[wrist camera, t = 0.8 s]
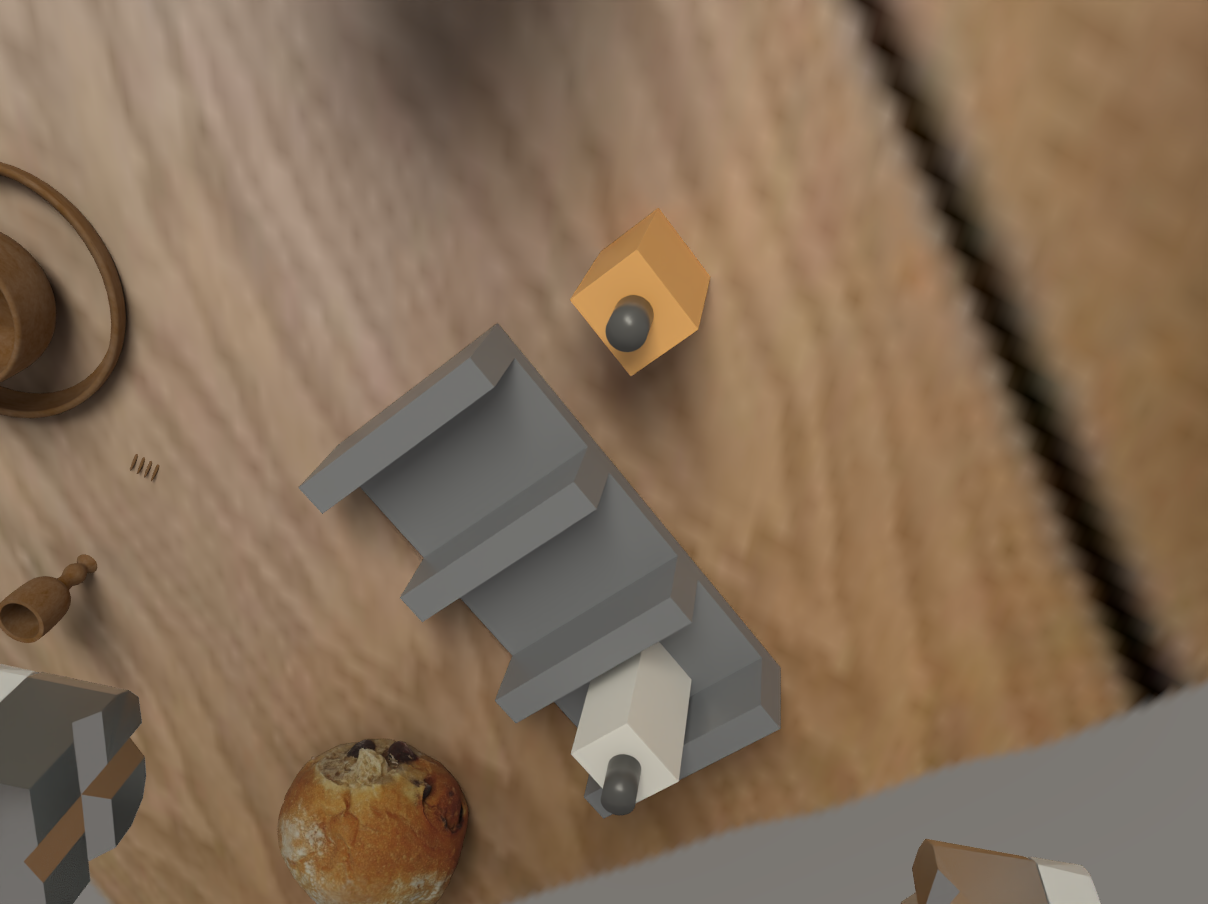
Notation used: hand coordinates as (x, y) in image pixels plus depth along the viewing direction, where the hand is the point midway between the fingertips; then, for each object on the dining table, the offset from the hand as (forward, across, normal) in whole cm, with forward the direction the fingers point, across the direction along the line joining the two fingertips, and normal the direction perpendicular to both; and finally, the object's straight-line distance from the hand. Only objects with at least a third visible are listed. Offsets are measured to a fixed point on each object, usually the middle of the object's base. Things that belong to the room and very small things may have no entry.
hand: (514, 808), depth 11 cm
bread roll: (+35, +12, +35) cm, 51 cm away
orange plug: (+34, +1, +3) cm, 34 cm away
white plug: (+34, -1, +22) cm, 40 cm away
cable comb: (+34, +4, +17) cm, 39 cm away
